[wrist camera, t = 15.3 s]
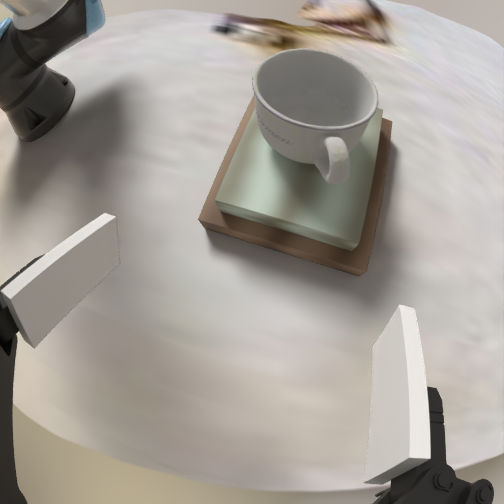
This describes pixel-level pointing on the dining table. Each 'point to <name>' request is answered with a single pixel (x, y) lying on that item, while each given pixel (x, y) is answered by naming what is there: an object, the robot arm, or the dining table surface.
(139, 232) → the dining table surface
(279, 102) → the teacup
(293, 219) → the block stand
